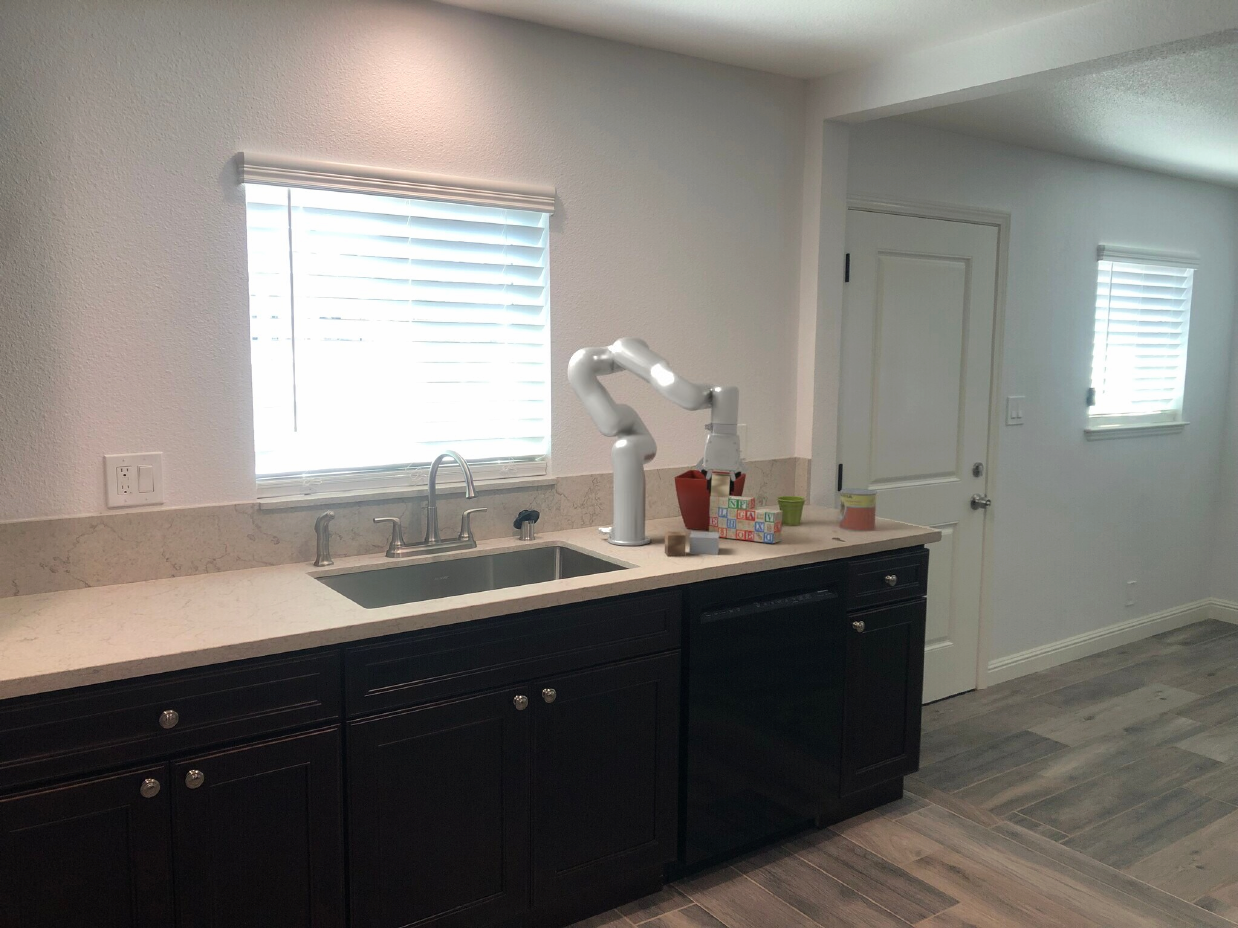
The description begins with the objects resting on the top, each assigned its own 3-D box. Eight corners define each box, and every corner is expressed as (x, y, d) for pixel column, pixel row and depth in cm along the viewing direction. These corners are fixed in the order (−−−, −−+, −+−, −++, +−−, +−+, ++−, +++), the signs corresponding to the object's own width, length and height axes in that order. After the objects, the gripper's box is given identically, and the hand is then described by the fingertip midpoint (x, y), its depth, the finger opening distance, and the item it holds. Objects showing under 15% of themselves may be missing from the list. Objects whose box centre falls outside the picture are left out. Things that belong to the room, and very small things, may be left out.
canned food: (834, 524, 307) (836, 488, 306) (868, 524, 308) (870, 488, 306) (844, 531, 296) (845, 494, 295) (879, 531, 297) (881, 494, 295)
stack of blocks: (781, 541, 281) (783, 500, 279) (773, 544, 275) (775, 502, 274) (717, 533, 292) (718, 493, 291) (708, 535, 287) (709, 495, 286)
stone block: (689, 554, 263) (689, 537, 263) (691, 548, 271) (691, 531, 270) (718, 555, 262) (718, 538, 262) (718, 549, 270) (719, 532, 269)
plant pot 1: (731, 535, 290) (733, 481, 287) (672, 529, 296) (673, 477, 294) (745, 524, 307) (746, 473, 305) (688, 519, 314) (690, 469, 312)
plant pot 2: (792, 528, 301) (793, 501, 300) (770, 523, 308) (770, 497, 307) (811, 524, 306) (812, 498, 305) (788, 520, 314) (789, 495, 313)
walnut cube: (667, 556, 260) (667, 535, 259) (664, 552, 264) (665, 531, 264) (685, 556, 260) (685, 535, 259) (682, 552, 265) (682, 531, 264)
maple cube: (710, 496, 263) (711, 475, 262) (711, 493, 268) (712, 472, 267) (728, 497, 262) (729, 476, 261) (729, 494, 267) (730, 474, 266)
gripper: (692, 429, 260) (689, 493, 262) (754, 432, 257) (750, 497, 260) (693, 426, 267) (690, 489, 270) (754, 429, 265) (750, 493, 267)
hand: (720, 492), depth 265 cm, fingers closed on maple cube, 5 cm apart
